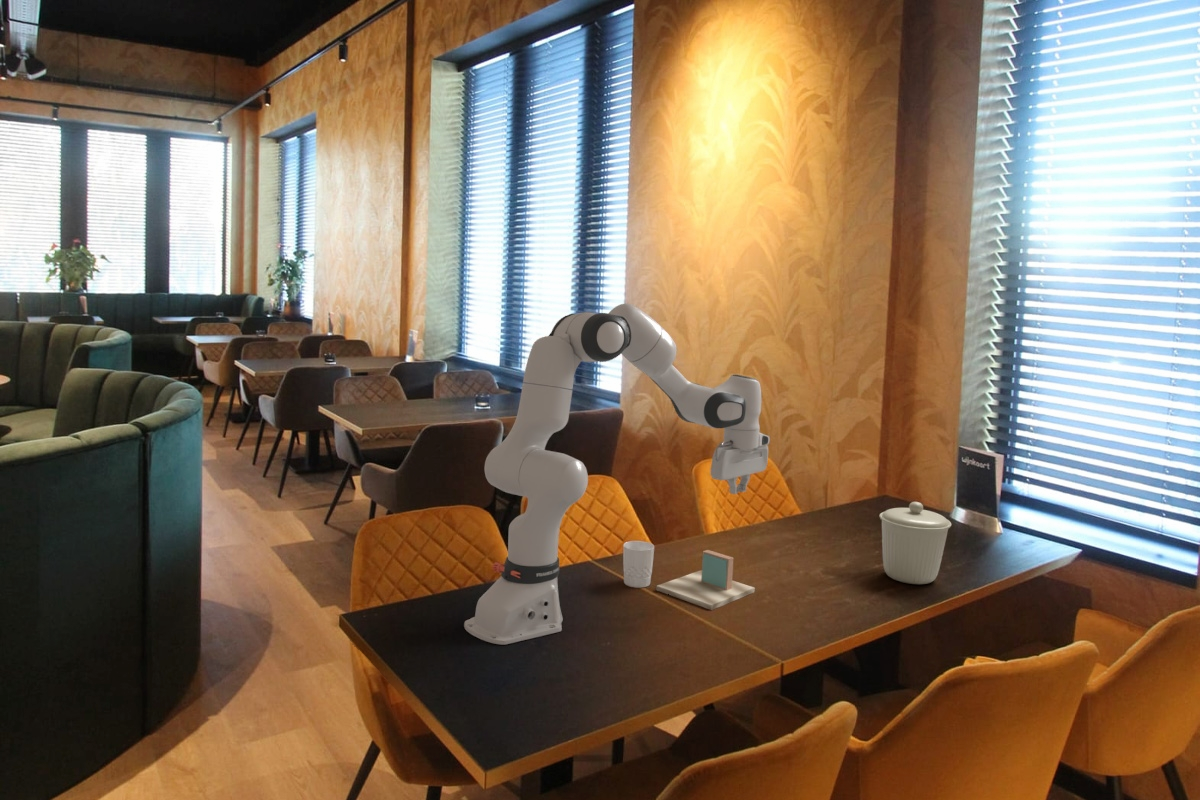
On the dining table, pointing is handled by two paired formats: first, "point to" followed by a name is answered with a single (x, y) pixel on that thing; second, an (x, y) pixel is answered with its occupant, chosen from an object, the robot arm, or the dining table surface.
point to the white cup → (637, 563)
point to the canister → (913, 543)
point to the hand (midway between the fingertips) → (737, 492)
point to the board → (703, 591)
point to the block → (717, 569)
